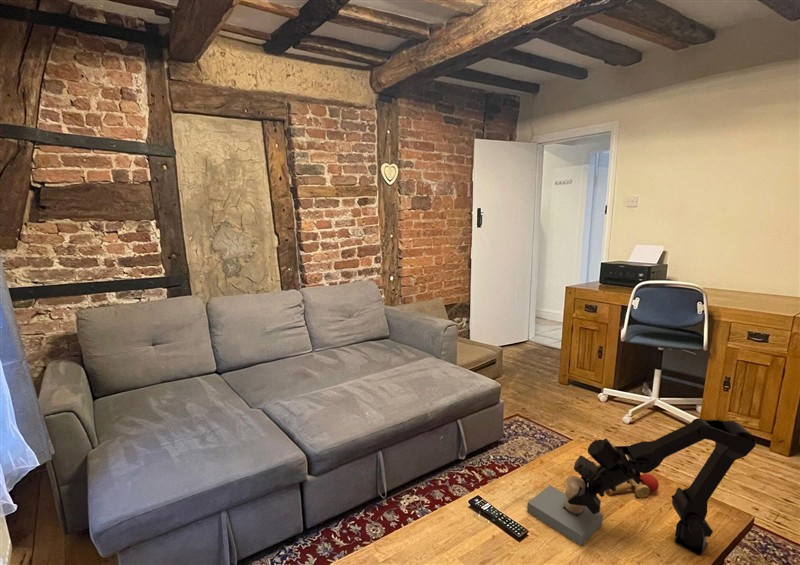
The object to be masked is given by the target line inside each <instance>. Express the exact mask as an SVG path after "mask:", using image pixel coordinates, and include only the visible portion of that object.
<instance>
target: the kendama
mask: <svg viewBox="0 0 800 565" xmlns="http://www.w3.org/2000/svg"><path fill="white" fill-rule="evenodd" d="M659 484H660V483H659V481H658V479H657V478H656V477H655V476H654V475H652V474H650V473H646V474H643V473H641V477H640V484H637V483H636V482H635V481H634V480H633V479H631V480H629V481H627V482H626V483H623V484H621V485H618V486H616V490H615V491H612V490H611V489H610V490H608V491H606V492H605V493H606V494H607V495H608V496H612V495H615V494H618V493H622V492H625V491H628V490H629V491H630V490H631V489H633V488H634V495H636V497H637V498H639V497H644V498H646V497H647V496H649V495H650V494H653V493H655V492H657V491H658V490H659Z"/></svg>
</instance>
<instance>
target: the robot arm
mask: <svg viewBox="0 0 800 565" xmlns="http://www.w3.org/2000/svg"><path fill="white" fill-rule="evenodd" d="M704 440H708V441H712V442H715V445H714V448H713V450H712V452H711V453H710V455H709V457H708V458H707V460H706V461H705V463H704V464H703V466H702V467H701V469H700V471H699V472H698V474H697V475H696V477H695V478H694V480H692V483H691V484H690V486H689V487H687V488H684V489H683V488H681V487H677V488H676V491H675V493H674V494H672V495H671V499H672V501H671V504H672V507H673V509H674V511H675V512H676V514H677V515H678V517H679V519H680V520H678V522H677V523H676V526H675V534H674V536H675V539H674V543H675V544H677V545H679V546H681V547H682V548H685V549H687V550H689V551H691V552H692V553H694V554H696V555H698V556H702V554H703V552H705V549H706V547H707V546H708V542H707V538H710V537H711V535H713V532H714V531H713V529H712V528H711V526H710V524H709V523H708V522H707V519H706V518H707V515H708V504H709V500H710V499H711V497H712V495H713V494H714V493H715V491H716V490H717V488H718V487H719V485H720V483H721V481H722V480H723V479H724V477H725V476H726V474H727V473H728V472H729V470H730V468H731V467H732V466H733V464H734V462H735V461H737V460H741V459H743V458H745V457H746V456H748V455H749V454H750V453H751V452H752V450H754V449H755V447H756V444H757V441H756V438H755V436H753V434H752V433H750V432H749V431H748V430H747V429H746V428H745V427H744V426H743V425H742V424H741V423H739V422H737V421H735V420H728V421H727V420H726V421H725V420H721V419H716V418H715V419H704V418H695V419H694V418H693V420H692V421H691V422H690V423H687V424H686V425H683V426H682V427H680V428H677V429H675V430H673V431H671V432H669V433H667V434H664V435H663V436H661V437H659V438H656V439H655V440H651V441H643V440H642V441H640V442H639V441H638V442H636V443H633V444H631V445H619V446H618V445H615V446H614V445H613V444H612V443H611V442H610V440H609V439H608V438H607V437H605V438H604V439H597V440H593V441H592V442H591V443H590V444H589V446H588V448H587V453H588V454H589V455H590V456H591V457H592V459H594V461H596V462H597V464H596V462H594V461H591V460H589V459H588V458H586V457H585V456H583V455H579V457H577V459H576V461H575V462H574V465H573V470H574V471H575V472H576V473H578V475H580V476H581V477H580V478H581V479H583V480H584V481H585V487H584V488H581V487H579V493H577V494H576V495H574V496H573V497H572V498H570V499H569V500H568V503H569V504H572V505H582V506H587V508H588V509H589V510H590V511H591V512H592V514H597V513H601V512H600V511H601V502H602V501H601V500H600V498H599V497H601V498H603V497H605V493H606V491H608V490H610V489H611V490H612V491H615V490H616V486H618V485H621V484H626V483H627V481H629V480H631V479H633V480H634V481H635V482H636V483H637V484H640V477H641V475H642V474H650V473H651V472H653V471H654V470H655V469H657V468H658V467H660V465H661V463H662V462H663V461H664V459H666V458H668V457H670V456H672V455H674V454H676V453H678V452H681V451H682V450H684V449H687V448H689V447H691V446H693V445H695V444H697V443H699V442H701V441H704ZM598 464H599V465H598ZM597 495H599V497H598V496H597Z"/></svg>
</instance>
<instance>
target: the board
mask: <svg viewBox="0 0 800 565" xmlns="http://www.w3.org/2000/svg"><path fill="white" fill-rule="evenodd" d="M564 504H565V492H563V491H561V490H559V489H557V488H556V487H555V486H552V485H550V484H549V485H548V486H547V487H545V488H544V489H543V490H541V491H540V492H539V493H537V494H536V495H535V496H534V497H532V498H531V499H529V501H527V508H526V509H527V510H526V512H527V513H528V514H530V515H531V516H533V517H534V518H536V519H537V520H539V521H541V522H543V523H544V524H545V525H546V526H548V527H550V528H552V529H553V530H554V531H556V532H557V533H559V534H561V535H562V536H564V537H566V538H567V539H569V540H570V541H572V542H573V543H575V544H577V545H579V546H580V547H582V546H583V545H584V544H585V543H586V542H587V541H588V540H589V539H590V538H591V536H593V535H594V534H595V533H596V532H597V531H598V529H599V528H600V527H601V526H602V525H603V519H604V518H603V517H604V514H603V513H601V512H599V513H597V514H592V512H591V511H590V510H589V509H588V508H587V506H583V513H582V514H580V515H578V516H575V515H573V514H571V513H569V512H568V511H566V509H565V508H564Z"/></svg>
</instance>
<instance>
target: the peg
mask: <svg viewBox="0 0 800 565" xmlns="http://www.w3.org/2000/svg"><path fill="white" fill-rule="evenodd" d="M565 480H566V481H565V492H564V493H565V504H564V508H565V509H566V511H568V512H569V513H571V514H573V515H575V516H578V515H580V514H582V513H583V506H582V505H572V504H569V503H568V500H569V499H570V498H572V497H573V496H574V495H576V494H577V493H579V487H581V488H584V487H585V481H584V480H583V479H581V477H579V476H577V475H569V476H567V477H566V479H565Z"/></svg>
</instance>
